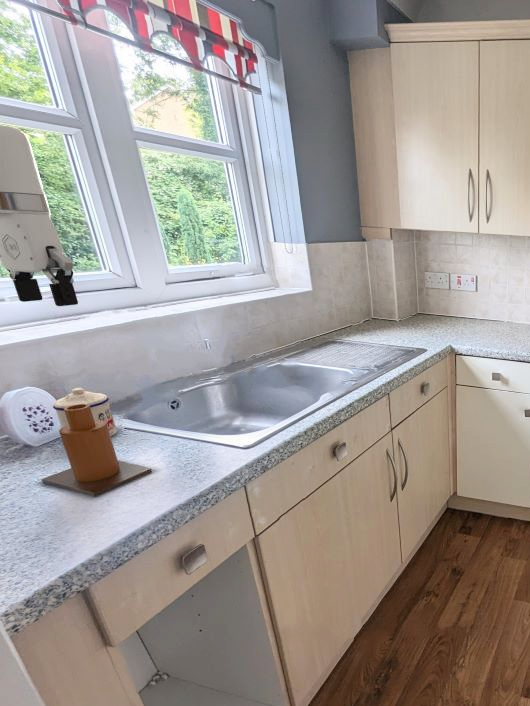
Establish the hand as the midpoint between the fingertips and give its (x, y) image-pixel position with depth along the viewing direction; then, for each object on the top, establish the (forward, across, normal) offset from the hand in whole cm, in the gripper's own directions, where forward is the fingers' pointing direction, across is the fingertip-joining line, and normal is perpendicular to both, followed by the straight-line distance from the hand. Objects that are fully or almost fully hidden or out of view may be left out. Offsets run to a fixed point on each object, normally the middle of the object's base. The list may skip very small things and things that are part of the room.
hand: (49, 303), depth 85 cm
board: (+32, +10, -6) cm, 34 cm away
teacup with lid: (+32, -12, +7) cm, 35 cm away
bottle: (+32, +10, -6) cm, 34 cm away
